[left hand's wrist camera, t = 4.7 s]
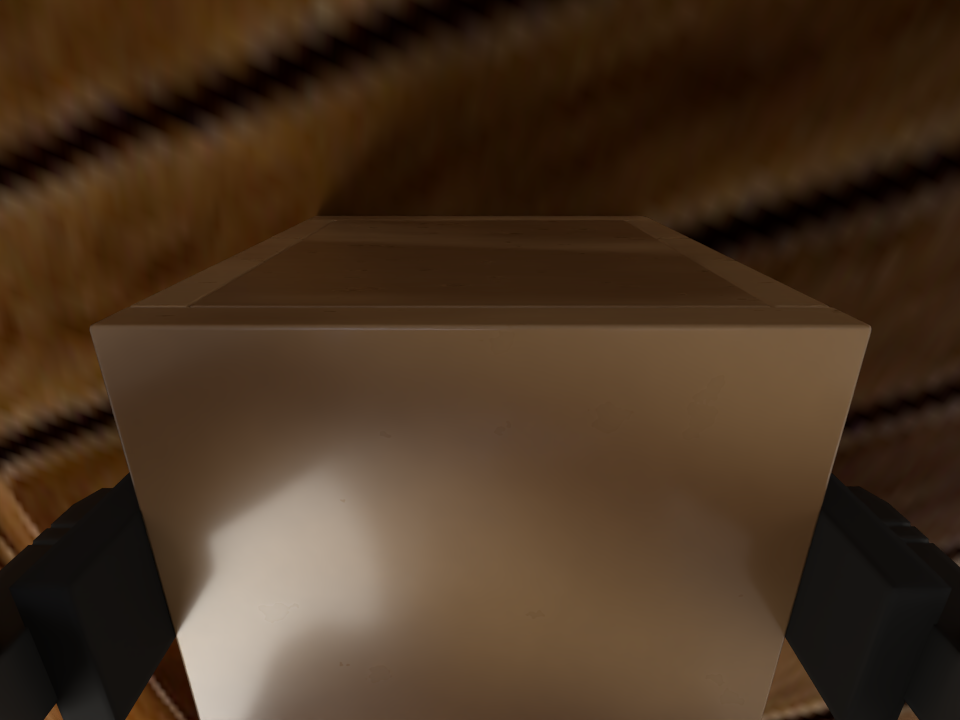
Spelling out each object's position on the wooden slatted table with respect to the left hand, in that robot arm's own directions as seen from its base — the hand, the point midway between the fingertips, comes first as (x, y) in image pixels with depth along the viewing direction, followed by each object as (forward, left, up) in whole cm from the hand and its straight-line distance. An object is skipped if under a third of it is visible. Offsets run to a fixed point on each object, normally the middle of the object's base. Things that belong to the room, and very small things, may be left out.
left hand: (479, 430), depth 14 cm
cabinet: (+1, +4, -6) cm, 7 cm away
